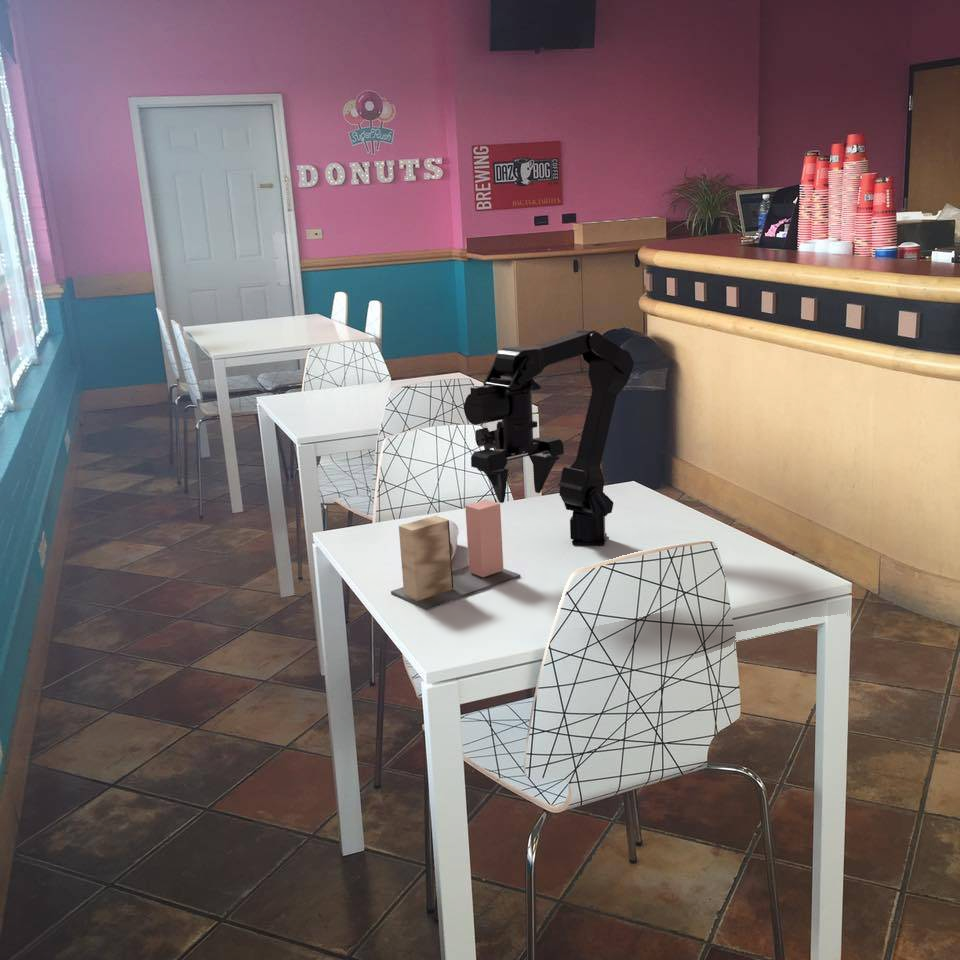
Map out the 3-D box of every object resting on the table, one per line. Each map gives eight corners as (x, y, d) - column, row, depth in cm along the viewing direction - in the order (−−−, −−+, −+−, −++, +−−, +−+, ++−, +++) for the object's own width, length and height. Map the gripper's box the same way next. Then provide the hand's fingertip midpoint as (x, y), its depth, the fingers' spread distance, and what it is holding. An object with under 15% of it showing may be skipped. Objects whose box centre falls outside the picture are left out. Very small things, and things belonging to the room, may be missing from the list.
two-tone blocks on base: (483, 563, 199) (479, 496, 196) (520, 577, 191) (517, 507, 187) (390, 593, 186) (385, 522, 183) (426, 609, 178) (421, 535, 174)
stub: (489, 565, 196) (486, 499, 192) (503, 570, 193) (500, 503, 189) (469, 572, 193) (465, 505, 189) (482, 577, 190) (478, 509, 186)
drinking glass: (459, 513, 210) (451, 531, 196) (464, 544, 212) (457, 565, 197) (427, 517, 211) (417, 535, 196) (432, 548, 212) (422, 569, 198)
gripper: (525, 404, 203) (527, 480, 206) (450, 418, 191) (454, 499, 195) (565, 410, 194) (566, 490, 198) (489, 426, 183) (492, 511, 187)
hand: (519, 497), depth 195 cm, fingers open, 9 cm apart
